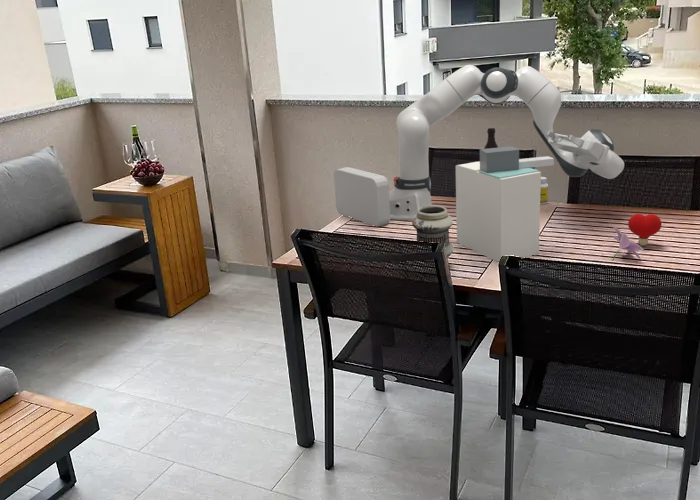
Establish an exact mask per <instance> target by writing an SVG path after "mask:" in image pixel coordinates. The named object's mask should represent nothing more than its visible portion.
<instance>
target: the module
mask: <svg viewBox="0 0 700 500" xmlns="http://www.w3.org/2000/svg"><path fill="white" fill-rule="evenodd" d="M479 161H480V169H481V170H482V171H484V172H486V173H492V172H501V171H511V170H519V169H522V168H532V169H533V168H540V167H548V166H554V165H555V157H554V158H553V157H551V156H549V155H546V156H537V157H529V158H527V157H526V158H520V149H519V148H516V147H514V146H511V145H510V146H502V147H501V146H500V147H499V146H498V148H489V149H484V148H480V149H479Z"/></svg>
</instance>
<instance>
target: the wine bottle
mask: <svg viewBox="0 0 700 500" xmlns="http://www.w3.org/2000/svg"><path fill="white" fill-rule="evenodd" d="M486 132H487V140H486V141H487V142H486V144H485V145H484V147H483V149H489V148H499V146H498V144H497V142H496V136H495V135H496V128H495V127H489V128H487V130H486Z"/></svg>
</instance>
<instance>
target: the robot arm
mask: <svg viewBox="0 0 700 500" xmlns="http://www.w3.org/2000/svg"><path fill="white" fill-rule="evenodd" d="M476 95H478V96H479V97H480V98H482V99H484V100H485V101H486V102H487V103H490V104H493V105H499V104H502V103H504V102H506V101H507V100H508V99H509V98H510V97H511V96H515V97H516V98H519V99H520V100H522V101H523V103H524V104H526V106H527V107H528V108H529V109H530V110H531V113H532V115H533V116H532V117H533V120H532V124H533V127H534V129H535V131H536V132H537V134H538V135H539V137H540V138H541V140H542V142H543V143H544V144H545V145H546V146H547V148H548V149H549V151H550V152H551V154H552V155H553V156H554V159H555V160H556V161H557V163H558V164H559V166H560V168H561V169H562V171H563V172H564V173H565V175H567V176H568V177H571V178H580V177H582V176H584V175H585V174H586V173H587V171H589V169H590V171H591V172H593V173H594V174H596V175H598V176H600V177H602V178H605V179H608V180H612V179H615V178H617V177H618V176H619V175H620V174H621V173H622V172H623V170H624V168H625V161H624V160H623V159H622V158H621V157H620V156H619V155H618V154H617V153H616V152H614V150H615V147H614V141H613V139H612V138H611V137H610V136H609V135H608V134H606V132H604V131H602V130H601V129H599V128H598V129H596V128H590V129H589V130H588V131H586V132H585V133H584V134H583V135H582V136H581V137H576V136H574V135H573V134H568V135H566V134H559V133H556V132H554V128H553V126H554V122H555V119H556V117H557V115H558V113H559V111H560V108H561V105H562V94H561V92H560V90H559V89H558V88H557V86H556V85H555V84H554V83H553V82H552V81H551V80H550V79H548V77H546V76H545V75H544V74H543V73H541V72H539V71H538V70H537V69H535V68H533V66H529V65H525V66H523V67H521V68H519V69H517V70H516V71H515V70H512V69H507V68H503V67H497V66H496V67H492V68H490V69H488V70H487V71H485V72H482V71H481V70H480V68H478V67H477V66H475V65H473V64H466V65H464V66H462V67H460V68H459V69H457V70H455V71H454V72H453V73H451V74H450V75H448V76H447V77H446V78H444V79H443V80H442V81H441V82H439V83H438V84H437V85H436V86H434V87H433V88H432V89H431V90H429V91H428V92H427V93H426V94H424V95H423V96H421V97H420V98H417V100H415V101H414V102H412V103H411V104H409V106H406V108H405V109H403V110H402V111H401V112H400V113H399V114H398V115H397V118H396V124H395V125H396V128H397V132H398V133H397V134H398V135H397V136H398V172H399V173H398V175H399V176H397V175H396V176H394V177H393V182H394V183H393V184H394V187H393V188H392V189H391V190H389V205H390V220H406V221H407V220H412V221H413V219H414V217H415V216H417V213H418V209H419V208H421V207H424V206H432V205H433V204H432V203H433V202H432V198H431V190H432V187H431V186H432V182H431V176H430V170H429V168H430V166H429V150H430V149H429V147H430V146H429V145H430V128H431V127H432V126H434V125H436V124H437V123H438V122H440V121H442V120H443V119H445V118H447V117H449V116H450V115H451V114H452V113H454V112H455V111H456V110H457V109H458V108H460V107H461V106H462V105H464V104H465V103H466V102H467V101H468V100H470V99H471V98H473V97H474V96H476Z"/></svg>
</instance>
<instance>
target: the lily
mask: <svg viewBox="0 0 700 500" xmlns="http://www.w3.org/2000/svg"><path fill="white" fill-rule="evenodd" d="M610 226H612V228H613V229H614V231H615V232H616V234H617V236H616V235H614V236H613V235H612V238H613V239H614V240H616V241H617V242H618V243H619V248H618V250H617V251H616V252H615V255H614V256H613V258H612V260H613V261H614V260H615V258H616V256H617V255H618V253H619V252H620V250H624V251H625V250H626V251H627V253H629V254H633V255H635V256H636V257H637V258H638V259H639V260H640V261H641V260H642V258H641V257H640V255H639V253H638V252H639V251H645V250H644V248H643V247H642V246H641V245H640V244H639V243H638V244H637V242H635V241H632V240H631V239H630V238H629V236H628V235H627V234H626V233H624V232H623V233H622V232H621V230H620V229H618V228H617V227H616V226H615V225H614V224H611V225H610ZM637 251H638V252H637Z"/></svg>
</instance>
